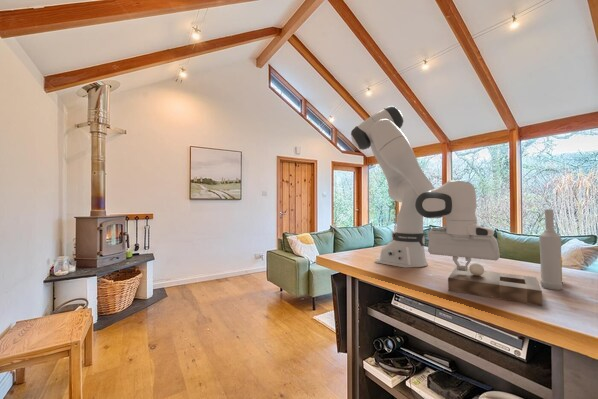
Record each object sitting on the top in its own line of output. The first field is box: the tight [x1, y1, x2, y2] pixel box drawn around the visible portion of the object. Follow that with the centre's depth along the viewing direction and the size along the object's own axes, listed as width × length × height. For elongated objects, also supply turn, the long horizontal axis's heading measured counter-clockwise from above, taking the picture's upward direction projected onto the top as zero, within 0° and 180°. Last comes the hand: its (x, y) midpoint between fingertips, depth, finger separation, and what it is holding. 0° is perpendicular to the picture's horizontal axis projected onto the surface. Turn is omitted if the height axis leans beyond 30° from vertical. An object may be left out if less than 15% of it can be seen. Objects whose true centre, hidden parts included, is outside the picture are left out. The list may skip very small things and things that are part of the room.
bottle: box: [538, 209, 563, 291], centre depth 86 cm, size 5×5×25 cm
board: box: [447, 267, 543, 307], centre depth 84 cm, size 22×16×4 cm
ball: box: [468, 262, 485, 276], centre depth 87 cm, size 4×4×4 cm
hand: (462, 270), depth 89 cm, fingers closed
